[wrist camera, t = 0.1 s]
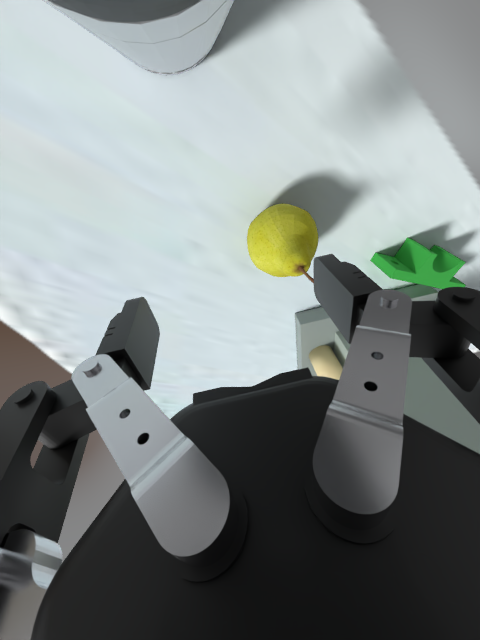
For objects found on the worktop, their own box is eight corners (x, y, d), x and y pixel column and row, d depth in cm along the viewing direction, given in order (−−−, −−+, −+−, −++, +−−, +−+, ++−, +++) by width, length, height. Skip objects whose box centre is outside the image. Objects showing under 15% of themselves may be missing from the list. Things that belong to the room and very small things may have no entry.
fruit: (230, 241, 29) (249, 307, 20) (262, 180, 25) (304, 225, 16) (280, 265, 32) (317, 331, 22) (316, 212, 28) (376, 266, 19)
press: (295, 313, 37) (558, 842, 11) (425, 282, 37) (1017, 737, 10) (297, 372, 46) (442, 735, 20) (402, 348, 46) (688, 679, 20)
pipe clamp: (453, 249, 34) (483, 266, 31) (433, 274, 36) (459, 292, 33) (387, 231, 31) (412, 248, 28) (369, 260, 33) (390, 278, 30)
